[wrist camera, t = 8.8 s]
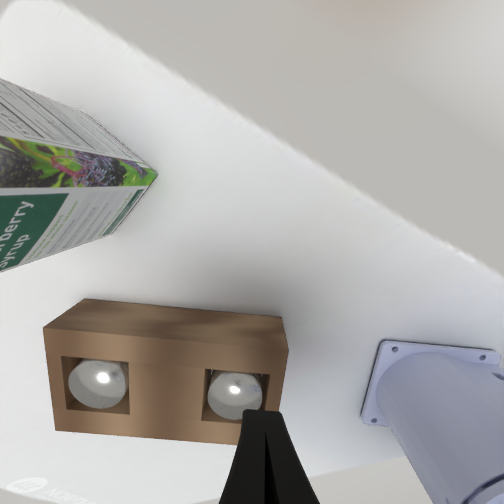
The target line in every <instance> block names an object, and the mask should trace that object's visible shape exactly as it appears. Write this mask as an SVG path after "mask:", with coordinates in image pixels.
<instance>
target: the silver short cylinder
mask: <svg viewBox="0 0 504 504" xmlns="http://www.w3.org/2000/svg"><path fill="white" fill-rule="evenodd" d="M208 403H209V405H210V407H211V409H212V410H213V411H214V412H215V413H216V414H218V415H219V416H221V417H223V418H226V419H231V420H240V419H242V415H243V411H244V410H246V409H253V410H258V409H259V407H260V406H261V403H262V382H261V374H259V373H248V372H236V371H225V370H214V369H213V372H212V376H211V381H210V386H209V391H208Z"/></svg>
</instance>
